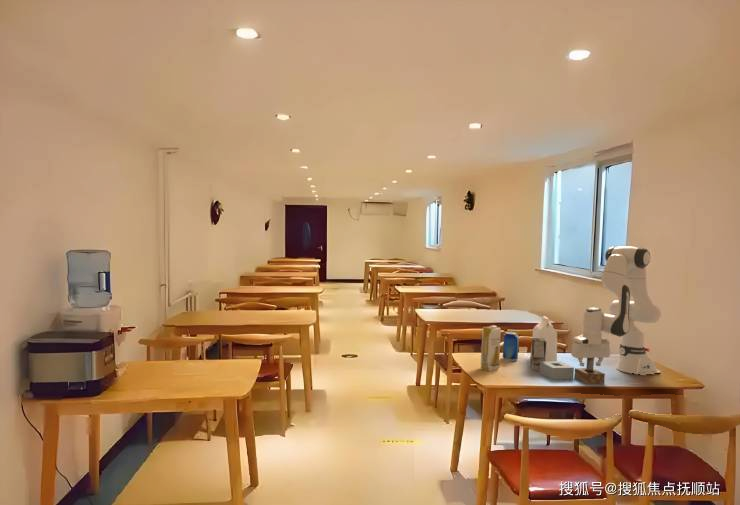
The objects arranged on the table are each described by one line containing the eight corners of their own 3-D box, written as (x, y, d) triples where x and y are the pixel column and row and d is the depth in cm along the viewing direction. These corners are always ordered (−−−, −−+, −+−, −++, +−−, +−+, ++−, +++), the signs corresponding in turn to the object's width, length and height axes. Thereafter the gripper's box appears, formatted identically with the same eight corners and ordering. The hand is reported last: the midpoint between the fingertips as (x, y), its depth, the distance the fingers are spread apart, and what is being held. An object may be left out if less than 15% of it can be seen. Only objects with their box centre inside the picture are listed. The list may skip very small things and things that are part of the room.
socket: (559, 372, 254) (560, 361, 254) (573, 379, 243) (573, 367, 242) (539, 372, 252) (540, 361, 252) (552, 379, 240) (552, 368, 240)
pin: (589, 379, 243) (591, 355, 243) (594, 381, 239) (596, 356, 239) (583, 379, 242) (584, 355, 242) (588, 381, 239) (589, 357, 238)
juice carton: (490, 372, 249) (492, 327, 248) (478, 368, 255) (480, 324, 254) (500, 369, 255) (503, 325, 254) (488, 365, 261) (491, 323, 260)
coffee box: (544, 371, 254) (546, 342, 254) (532, 370, 256) (534, 341, 255) (542, 366, 263) (543, 338, 263) (530, 365, 265) (531, 337, 264)
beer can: (519, 359, 277) (520, 332, 276) (515, 362, 270) (516, 335, 269) (504, 357, 281) (506, 330, 281) (500, 359, 274) (502, 332, 274)
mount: (591, 377, 247) (591, 367, 247) (604, 383, 237) (604, 373, 237) (574, 377, 245) (574, 368, 245) (586, 384, 235) (587, 374, 235)
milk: (530, 357, 282) (532, 315, 281) (549, 358, 281) (552, 316, 280) (536, 363, 270) (539, 318, 269) (556, 364, 269) (559, 319, 268)
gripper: (605, 337, 245) (603, 363, 246) (570, 337, 241) (568, 364, 242) (613, 340, 239) (612, 367, 240) (577, 340, 235) (576, 368, 236)
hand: (590, 365), depth 241 cm, fingers open, 8 cm apart
